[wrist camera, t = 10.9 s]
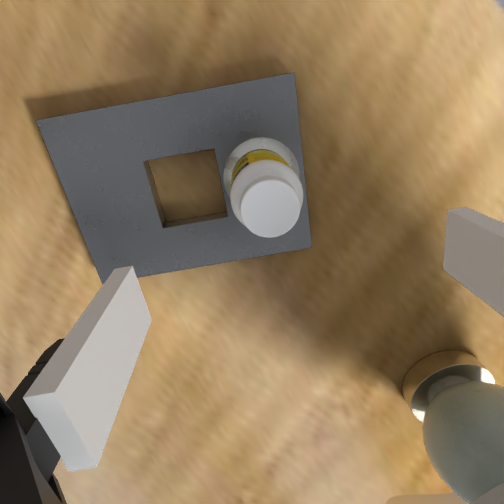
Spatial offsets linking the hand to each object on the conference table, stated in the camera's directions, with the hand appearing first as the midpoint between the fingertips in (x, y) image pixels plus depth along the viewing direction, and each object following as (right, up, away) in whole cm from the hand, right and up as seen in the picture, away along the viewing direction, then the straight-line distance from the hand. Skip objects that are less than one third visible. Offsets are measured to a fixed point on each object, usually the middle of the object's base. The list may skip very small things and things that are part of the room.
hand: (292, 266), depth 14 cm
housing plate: (-8, +7, +19) cm, 21 cm away
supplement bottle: (-1, +7, +17) cm, 18 cm away
